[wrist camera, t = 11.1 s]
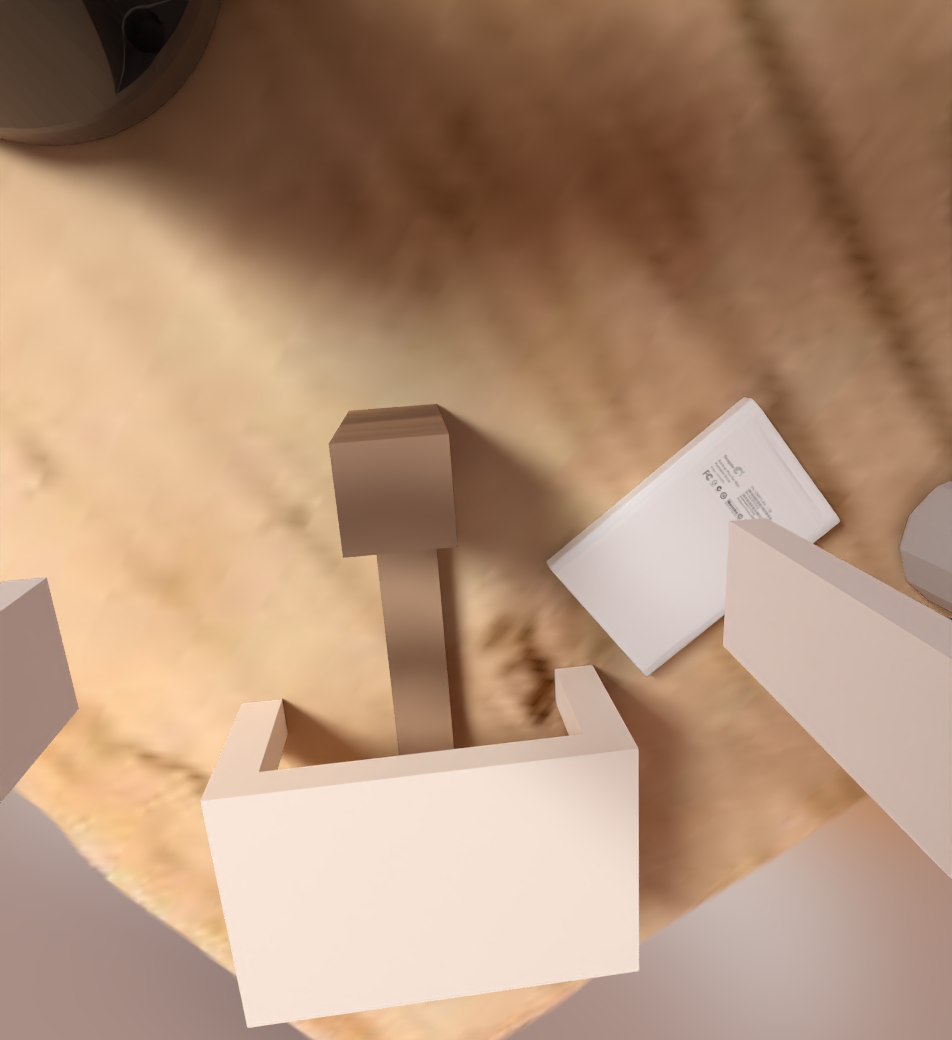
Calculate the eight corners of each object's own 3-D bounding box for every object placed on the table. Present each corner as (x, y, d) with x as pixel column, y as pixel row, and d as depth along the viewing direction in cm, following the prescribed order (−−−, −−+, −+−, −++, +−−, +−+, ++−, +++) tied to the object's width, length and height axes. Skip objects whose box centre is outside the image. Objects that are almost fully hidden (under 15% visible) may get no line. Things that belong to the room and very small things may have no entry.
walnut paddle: (349, 411, 32) (328, 444, 23) (436, 404, 32) (448, 434, 23) (392, 785, 37) (389, 924, 29) (467, 776, 38) (485, 911, 29)
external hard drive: (543, 558, 35) (739, 394, 34) (638, 665, 37) (826, 515, 36) (549, 569, 34) (755, 398, 32) (648, 680, 36) (845, 524, 35)
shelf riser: (241, 703, 35) (200, 801, 28) (592, 664, 37) (638, 748, 29) (276, 896, 38) (247, 1028, 31) (596, 854, 40) (639, 970, 33)
